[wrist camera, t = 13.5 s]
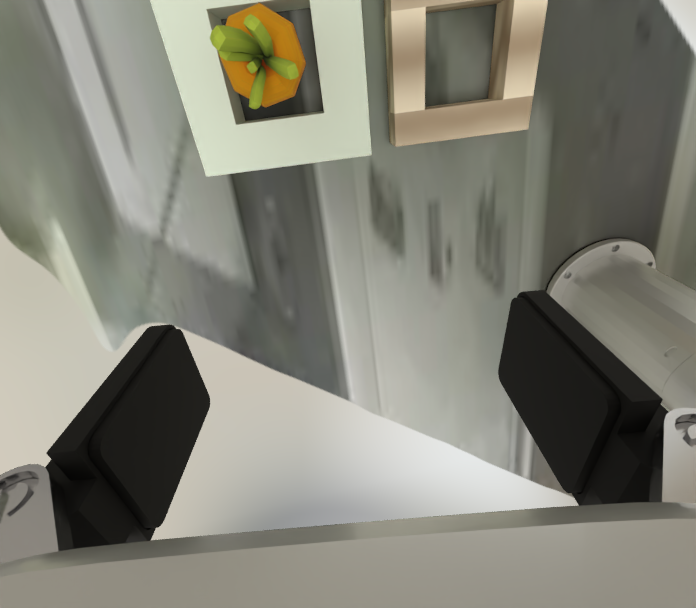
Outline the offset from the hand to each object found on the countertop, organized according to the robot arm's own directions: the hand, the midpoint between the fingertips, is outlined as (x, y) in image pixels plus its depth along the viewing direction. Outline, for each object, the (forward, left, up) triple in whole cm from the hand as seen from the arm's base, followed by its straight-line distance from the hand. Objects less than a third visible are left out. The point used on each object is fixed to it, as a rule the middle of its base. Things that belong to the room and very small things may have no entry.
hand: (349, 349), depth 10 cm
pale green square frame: (+8, +3, -27) cm, 29 cm away
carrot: (+8, +3, -27) cm, 29 cm away
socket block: (+7, -12, -27) cm, 30 cm away
